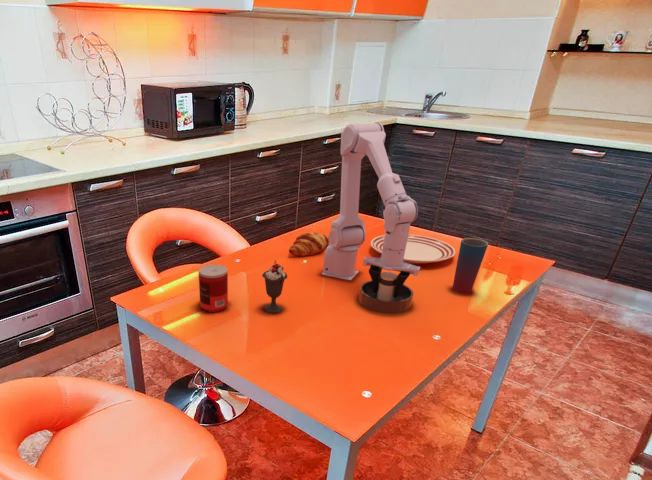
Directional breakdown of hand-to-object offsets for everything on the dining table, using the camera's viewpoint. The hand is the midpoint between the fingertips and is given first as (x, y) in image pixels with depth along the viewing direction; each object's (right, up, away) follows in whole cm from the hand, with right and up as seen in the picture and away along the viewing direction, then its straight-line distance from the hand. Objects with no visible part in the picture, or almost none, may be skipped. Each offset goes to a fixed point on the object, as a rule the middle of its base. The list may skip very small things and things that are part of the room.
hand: (385, 293), depth 132 cm
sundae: (-31, -4, 0) cm, 32 cm away
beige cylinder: (0, -2, +1) cm, 2 cm away
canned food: (-48, -4, +1) cm, 48 cm away
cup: (+25, +1, +7) cm, 26 cm away
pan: (0, -2, +2) cm, 3 cm away
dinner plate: (+19, +17, +32) cm, 41 cm away
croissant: (-14, +19, +37) cm, 44 cm away
